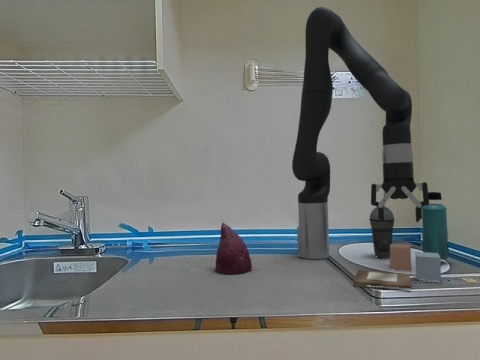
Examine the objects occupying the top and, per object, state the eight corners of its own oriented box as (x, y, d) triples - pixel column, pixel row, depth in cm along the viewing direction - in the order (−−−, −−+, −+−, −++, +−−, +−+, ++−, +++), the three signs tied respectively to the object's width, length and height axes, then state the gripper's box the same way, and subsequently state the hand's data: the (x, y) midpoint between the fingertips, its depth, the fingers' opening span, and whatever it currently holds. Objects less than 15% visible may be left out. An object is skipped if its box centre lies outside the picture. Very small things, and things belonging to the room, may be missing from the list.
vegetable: (212, 284, 98) (195, 233, 97) (226, 270, 108) (211, 223, 107) (247, 278, 94) (229, 224, 93) (258, 263, 104) (242, 214, 103)
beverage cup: (376, 253, 115) (374, 191, 115) (399, 256, 110) (397, 191, 109) (366, 257, 110) (364, 192, 110) (389, 260, 105) (387, 192, 104)
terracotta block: (390, 269, 96) (389, 247, 95) (390, 265, 100) (390, 243, 100) (411, 271, 93) (410, 248, 93) (410, 266, 98) (410, 244, 98)
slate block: (416, 281, 85) (416, 256, 85) (416, 275, 89) (415, 251, 89) (440, 283, 83) (440, 257, 83) (438, 277, 87) (438, 253, 87)
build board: (353, 286, 83) (353, 280, 83) (358, 274, 92) (358, 269, 92) (410, 291, 78) (410, 285, 78) (409, 278, 87) (409, 273, 87)
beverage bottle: (452, 265, 97) (450, 192, 97) (426, 265, 99) (424, 192, 98) (444, 259, 104) (442, 191, 104) (419, 259, 105) (417, 191, 105)
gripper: (368, 162, 96) (370, 223, 96) (428, 159, 90) (430, 223, 90) (370, 163, 103) (372, 219, 103) (426, 160, 97) (428, 220, 97)
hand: (400, 221), depth 96 cm, fingers open, 8 cm apart
